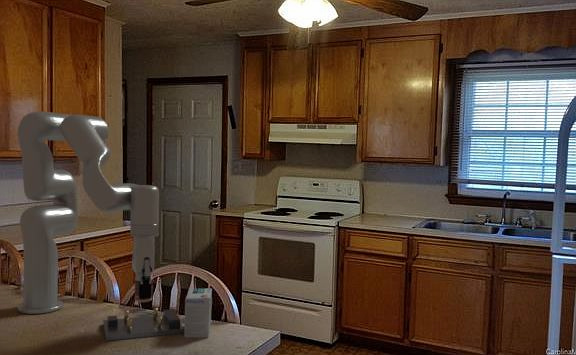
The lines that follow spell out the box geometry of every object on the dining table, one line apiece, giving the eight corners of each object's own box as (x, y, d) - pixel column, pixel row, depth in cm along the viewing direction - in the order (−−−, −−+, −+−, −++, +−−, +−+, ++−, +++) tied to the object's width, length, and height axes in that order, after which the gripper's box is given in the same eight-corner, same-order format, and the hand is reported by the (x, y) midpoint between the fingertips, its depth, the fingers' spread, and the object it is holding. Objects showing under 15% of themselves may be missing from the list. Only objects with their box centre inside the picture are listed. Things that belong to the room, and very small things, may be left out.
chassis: (103, 324, 149) (103, 309, 149) (174, 318, 157) (174, 304, 157) (106, 340, 136) (106, 324, 136) (183, 333, 144) (184, 317, 144)
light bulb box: (187, 325, 151) (188, 287, 151) (211, 325, 152) (212, 287, 151) (183, 338, 140) (184, 297, 140) (209, 338, 141) (210, 297, 141)
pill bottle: (147, 303, 144) (148, 272, 143) (131, 301, 145) (131, 271, 144) (155, 298, 148) (155, 268, 148) (139, 297, 149) (140, 267, 149)
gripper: (127, 226, 152) (126, 289, 153) (133, 235, 136) (133, 305, 137) (153, 225, 155) (153, 287, 156) (163, 234, 139) (162, 302, 140)
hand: (143, 295), depth 146 cm, fingers closed on pill bottle, 4 cm apart
